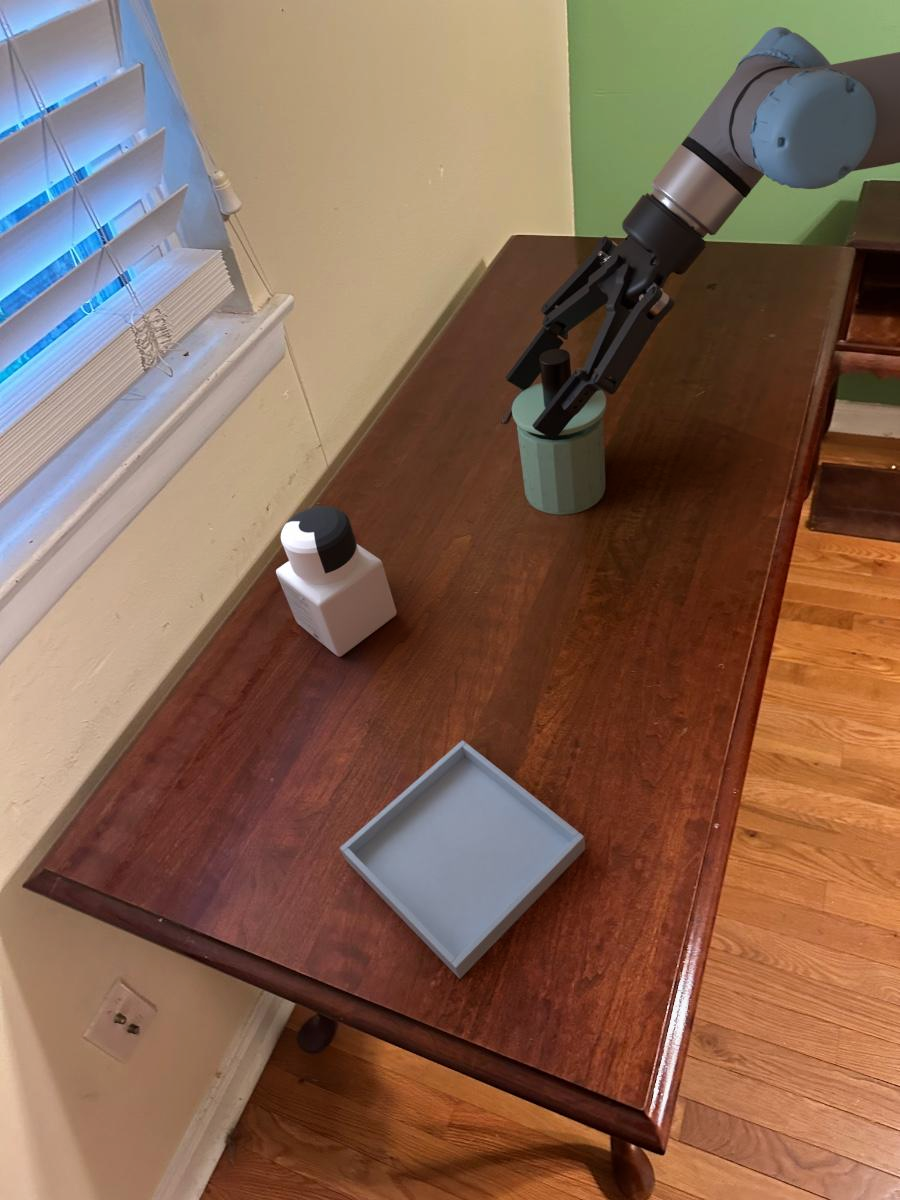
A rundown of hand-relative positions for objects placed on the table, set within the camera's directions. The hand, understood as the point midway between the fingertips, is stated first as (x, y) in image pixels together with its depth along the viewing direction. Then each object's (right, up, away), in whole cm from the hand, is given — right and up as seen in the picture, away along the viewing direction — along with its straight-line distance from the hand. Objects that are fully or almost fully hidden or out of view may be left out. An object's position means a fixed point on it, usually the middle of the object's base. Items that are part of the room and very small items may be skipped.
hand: (528, 407), depth 88 cm
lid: (+3, 0, +1) cm, 3 cm away
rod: (+2, +9, +26) cm, 27 cm away
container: (-19, -22, -1) cm, 29 cm away
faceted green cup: (+5, -7, +9) cm, 12 cm away
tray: (-7, -40, -21) cm, 46 cm away
